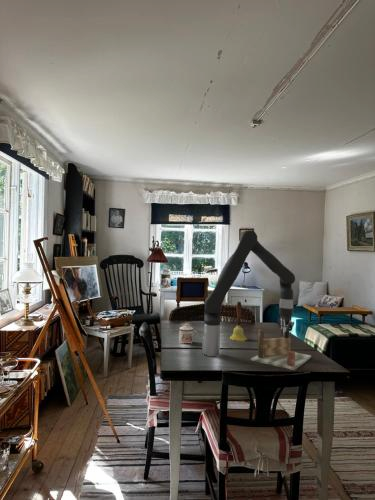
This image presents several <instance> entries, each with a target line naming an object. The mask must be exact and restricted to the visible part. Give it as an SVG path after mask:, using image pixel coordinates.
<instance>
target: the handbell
mask: <svg viewBox="0 0 375 500" xmlns="http://www.w3.org/2000/svg"><path fill="white" fill-rule="evenodd" d="M242 310H243V309H242V302H241V301H237V302H236V326H235V327H234V328H233V333H232V334H231V336H229V337H230V339H232V340H231V341H233V340H237V341H236V342H246V341H245V340H247V341H248V338H247V337H246V335H244V328H243V327H241V315H242ZM230 339H229V340H230Z"/></svg>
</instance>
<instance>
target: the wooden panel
mask: <svg viewBox="0 0 375 500" xmlns="http://www.w3.org/2000/svg"><path fill="white" fill-rule="evenodd" d="M288 351H291V337H290V336H289V337H288V338H285V327H283V336H282V337H274V338H271V337H270V338H264V354H263V356H274V355H284V354H287V352H288Z"/></svg>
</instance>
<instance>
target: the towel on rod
mask: <svg viewBox="0 0 375 500" xmlns="http://www.w3.org/2000/svg"><path fill="white" fill-rule="evenodd" d="M264 339H265V330H264V329H262V328H261V329H260V328H258V340H257V343H258V344H257V354H256V355H255V356H252V357H251V358H250V361H253V362H257V363H261V364H266V365H268V366H269V365H270V366H273V367H274V366H275V367H279V368H283V369H287V370H293V371H296V370H297V369H298V368H299V367H301V366H302V365H304V363H306V362H307V361H308V360H310V359H311V358H312V355H311V354H305V353H300V352H296V351H294V350H293V351H292V350H290V351H288V352H287V354H284V355H274V356H263V354H264Z"/></svg>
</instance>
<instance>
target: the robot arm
mask: <svg viewBox="0 0 375 500" xmlns="http://www.w3.org/2000/svg"><path fill="white" fill-rule="evenodd" d="M251 252H252V253H253V254H255V256H256V257H258V259H259V260H260V261H261V262H263V264H265V266H266V267H267V268H268V269H269V270H270V271H271V272H273V274H275V275H277V276H278V277H279V288H280V296H279V297H280V298H279V305H278V306H279V308H278V309H279V310H278V311H279V312H278V315H280V316H279V317H277V322H278V326H279V328H280V330H281V337H283V327H285V338H288V337H289V338H290V332H291V331H293V327H294V325H295V322H294V321H292V316H293V314H294V290H293V287H292V285H293V284H294V283H295V282H296V276H295V274H294V273H293V272H292V271H291V270H290V269H289V268H288V267H286V266H285V265H284V264H283V263H282V262H281V261H280V260H279V259H278V258H277V257H276V256H275V255H274V254H273V253H272V252H270V251H269V250H267V249H266V248H265V247H264V245H262V244H261V243H260V242H259V240H258V235H257V233H256V232H255V231H254V230H249V229H248V230H245V231H242V232H241V233H240V235H239V243H238V244H237V247H236V249H235V250H234V252H233V253H232V255H231V256H230V257H229V258H228V259H227V261H226V262H225V264H224V266H223V268H222V270H221V271H220V274H219V276H218V279H217V281H216V285H215V287H214V288H213V290H212V292H211V293H210V295H208V296H207V297H206V298H205V300H204V316H203V317H204V319H203V322H204V323H203V324H204V325H203V336H202V342H201V343H202V344H201V354H202V353H203V354H202V355H204V354H205V355H204V356H206V355H207V356H206V357H212V356H214V357H218V356H220V355H221V354H220V353H221V351H220V348H221V322H222V321H221V318H222V317H221V315H222V314H221V308H222V305H223V302H224V300H225V298H226V297H227V294H228V292H229V290H230V289H231V287H232V286H233V285H234V283H235V281H236V280H237V278H238V276H239V274H240V272H241V270H242V268H243V267H244V265H245V263H246V260H247V258H248V256H249V254H250V253H251Z"/></svg>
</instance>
